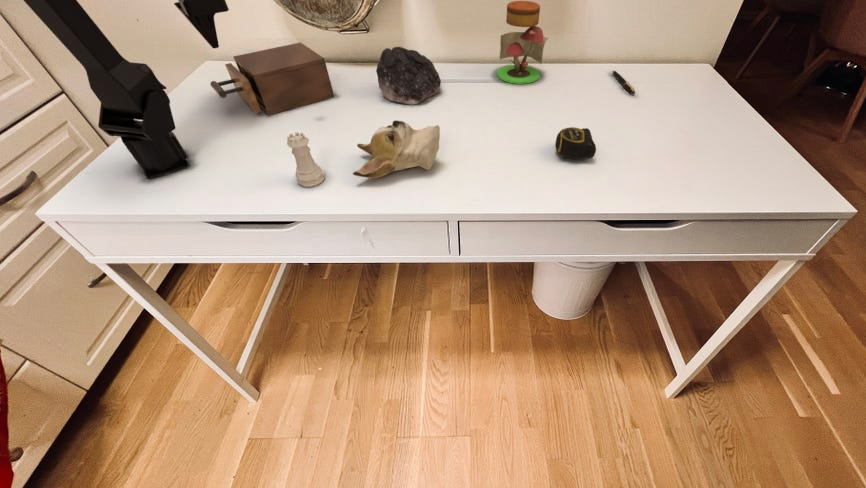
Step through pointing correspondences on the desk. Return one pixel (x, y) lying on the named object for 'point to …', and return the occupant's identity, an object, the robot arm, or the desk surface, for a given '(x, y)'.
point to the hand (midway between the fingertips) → (215, 47)
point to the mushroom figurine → (522, 43)
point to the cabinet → (287, 76)
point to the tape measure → (575, 143)
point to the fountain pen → (624, 82)
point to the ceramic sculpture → (399, 149)
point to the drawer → (240, 87)
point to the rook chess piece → (304, 161)
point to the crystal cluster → (407, 76)
